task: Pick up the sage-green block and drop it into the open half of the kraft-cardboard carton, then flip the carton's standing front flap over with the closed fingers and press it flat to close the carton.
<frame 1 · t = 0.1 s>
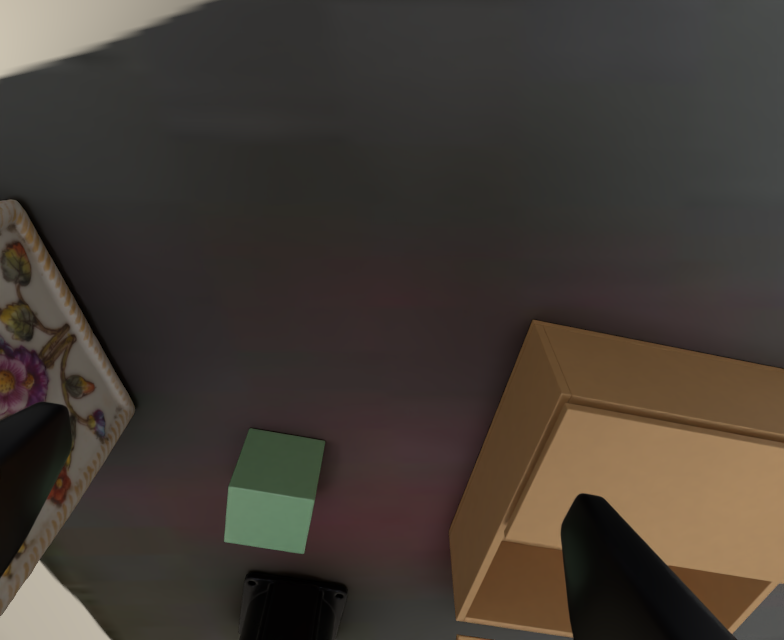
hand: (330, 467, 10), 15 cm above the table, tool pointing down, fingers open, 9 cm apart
carton: (610, 460, 29), on the table
block: (283, 461, 30), on the table
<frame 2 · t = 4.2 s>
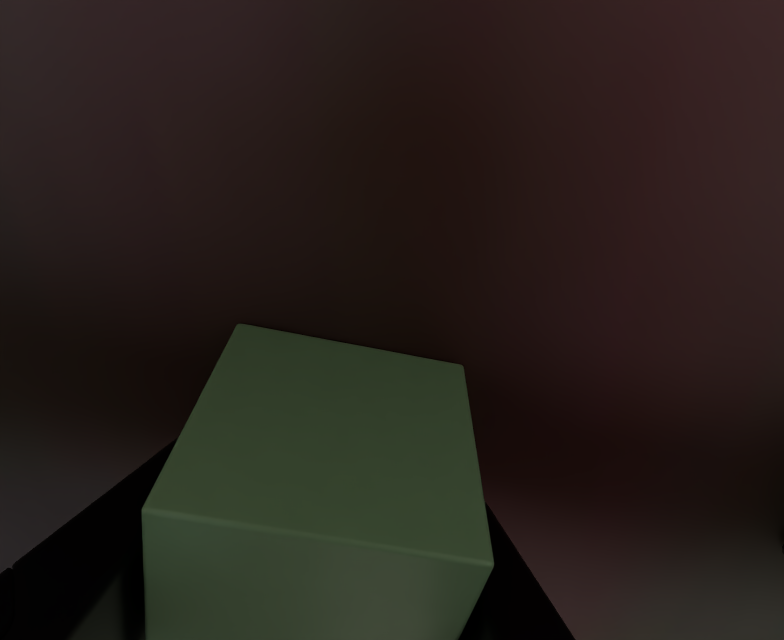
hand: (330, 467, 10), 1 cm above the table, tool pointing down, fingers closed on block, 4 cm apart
block: (335, 428, 11), on the table, touching gripper
when the fingers open (4 cm above the table, at t = 9.8 s): block drops 3 cm, resting on carton.
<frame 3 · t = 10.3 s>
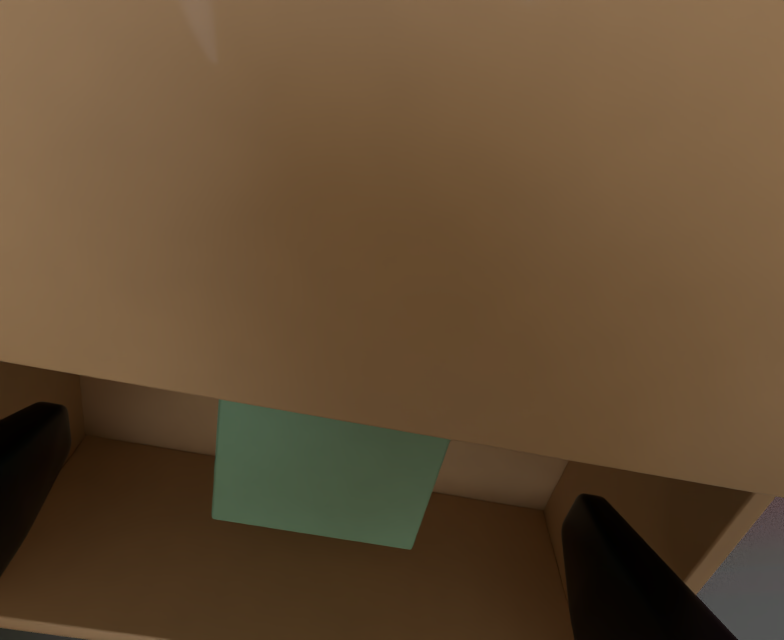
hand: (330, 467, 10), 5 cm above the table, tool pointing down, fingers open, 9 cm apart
carton: (369, 240, 12), on the table
block: (348, 342, 13), resting on carton
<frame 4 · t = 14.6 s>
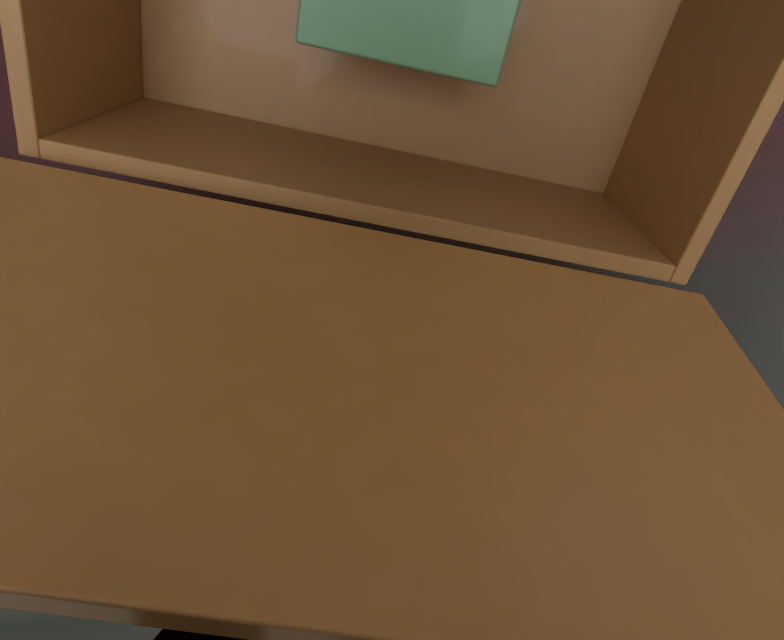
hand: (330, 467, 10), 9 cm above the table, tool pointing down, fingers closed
flap: (348, 364, 8), point 10 cm above the table, hinge at 97.5°, touching gripper
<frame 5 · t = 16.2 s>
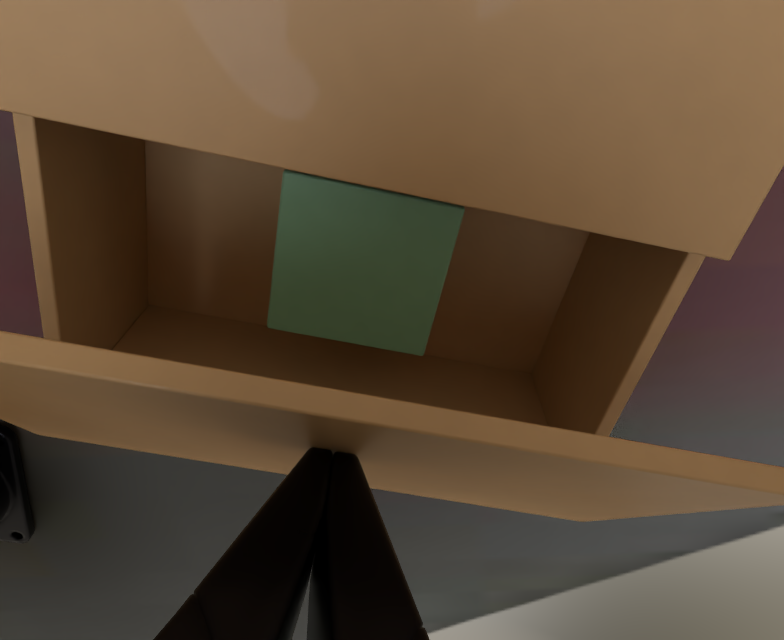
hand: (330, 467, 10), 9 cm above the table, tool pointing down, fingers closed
carton: (387, 124, 15), on the table
flap: (329, 449, 10), point 8 cm above the table, hinge at 36.6°, touching gripper
block: (369, 214, 16), resting on carton
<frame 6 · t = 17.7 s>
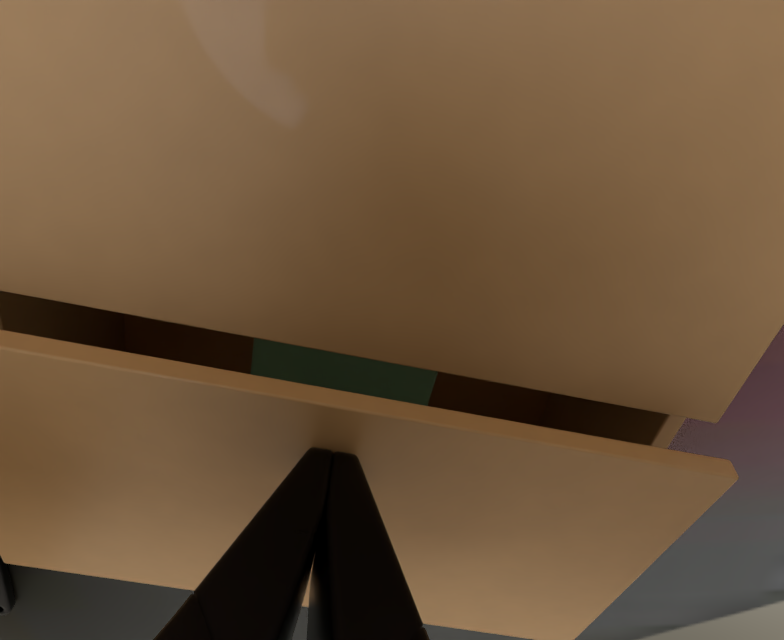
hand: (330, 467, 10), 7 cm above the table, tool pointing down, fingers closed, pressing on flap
carton: (370, 230, 15), on the table
flap: (318, 518, 11), point 7 cm above the table, hinge at 8.4°, touching gripper
block: (352, 315, 16), resting on carton
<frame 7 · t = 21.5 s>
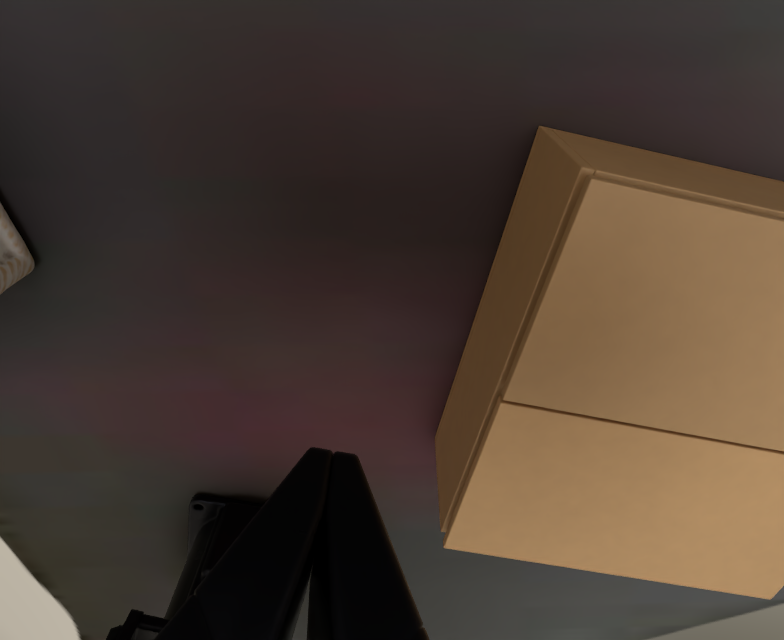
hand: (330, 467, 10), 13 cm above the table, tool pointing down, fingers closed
carton: (634, 337, 23), on the table
flap: (649, 508, 20), point 6 cm above the table, hinge at -0.5°
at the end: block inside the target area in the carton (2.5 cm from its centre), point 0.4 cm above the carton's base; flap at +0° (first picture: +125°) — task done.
